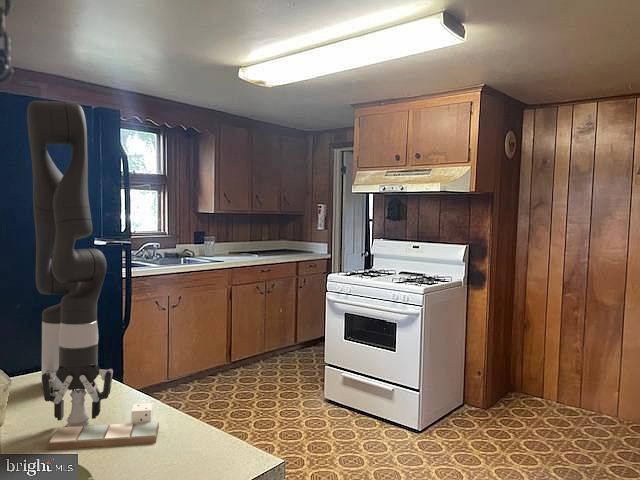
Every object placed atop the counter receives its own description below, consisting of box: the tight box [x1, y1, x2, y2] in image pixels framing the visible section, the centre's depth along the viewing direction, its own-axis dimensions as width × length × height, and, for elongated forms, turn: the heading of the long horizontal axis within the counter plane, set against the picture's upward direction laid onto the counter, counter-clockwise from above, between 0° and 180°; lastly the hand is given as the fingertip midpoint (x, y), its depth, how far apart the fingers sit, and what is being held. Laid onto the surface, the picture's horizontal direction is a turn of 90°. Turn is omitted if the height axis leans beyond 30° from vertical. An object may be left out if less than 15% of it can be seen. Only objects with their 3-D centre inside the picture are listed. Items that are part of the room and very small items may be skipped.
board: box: [47, 421, 160, 450], centre depth 101 cm, size 7×20×1 cm, turn 103°
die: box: [130, 402, 154, 424], centre depth 108 cm, size 4×4×4 cm
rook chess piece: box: [65, 388, 90, 427], centre depth 106 cm, size 4×4×8 cm
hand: (77, 417), depth 106 cm, fingers open, 6 cm apart
